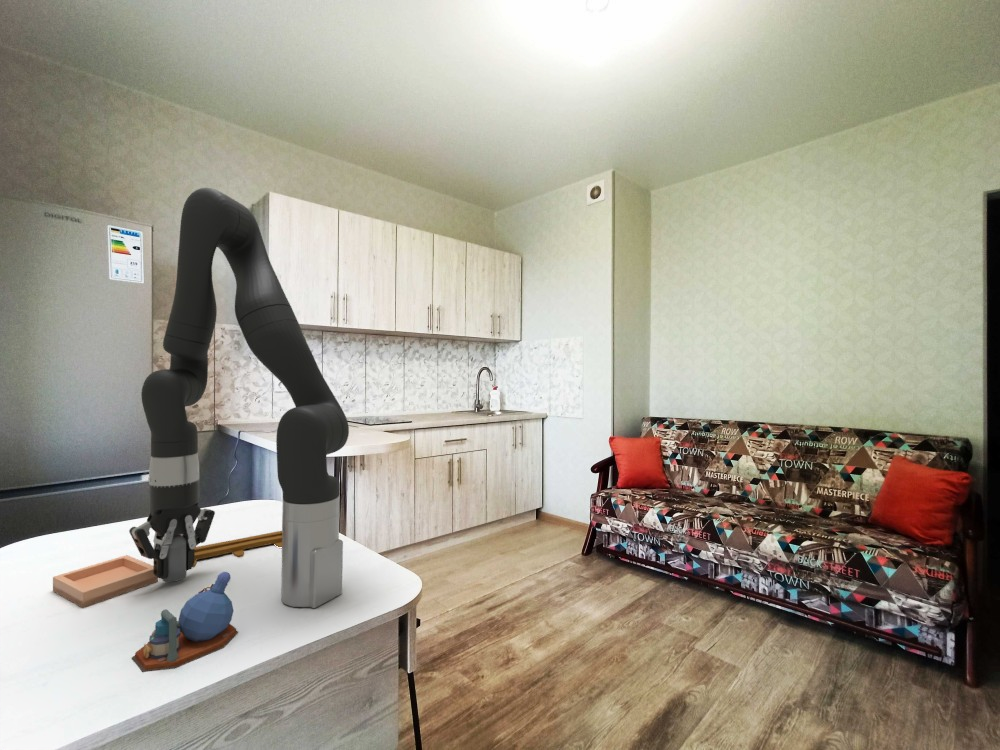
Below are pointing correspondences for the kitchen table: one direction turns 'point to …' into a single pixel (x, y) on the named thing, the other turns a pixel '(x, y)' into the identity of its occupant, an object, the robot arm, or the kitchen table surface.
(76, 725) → the kitchen table surface
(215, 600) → the model
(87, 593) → the dish
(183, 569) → the plug
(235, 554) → the decorative fence
